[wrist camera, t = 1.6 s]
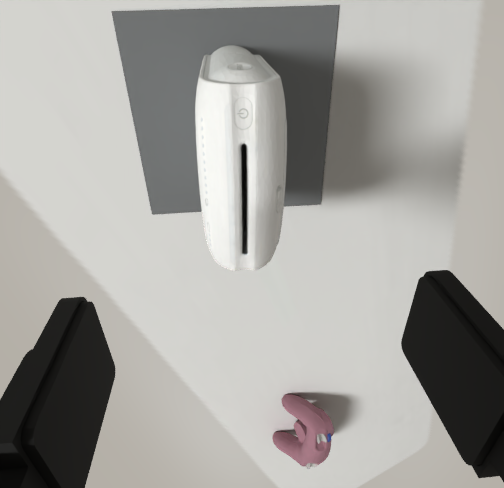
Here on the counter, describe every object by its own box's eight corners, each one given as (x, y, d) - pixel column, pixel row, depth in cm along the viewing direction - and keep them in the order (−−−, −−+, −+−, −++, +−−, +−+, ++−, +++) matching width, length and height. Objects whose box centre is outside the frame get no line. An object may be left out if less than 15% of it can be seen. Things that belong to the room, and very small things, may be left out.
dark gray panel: (112, 11, 22) (111, 11, 22) (338, 4, 23) (339, 5, 23) (152, 213, 30) (152, 214, 30) (320, 203, 31) (320, 204, 31)
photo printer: (197, 42, 23) (184, 75, 13) (264, 42, 24) (303, 74, 13) (207, 190, 29) (204, 293, 19) (261, 188, 29) (286, 289, 19)
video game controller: (295, 423, 52) (327, 469, 47) (268, 438, 50) (300, 488, 45) (308, 380, 47) (346, 426, 42) (279, 394, 44) (316, 445, 40)
